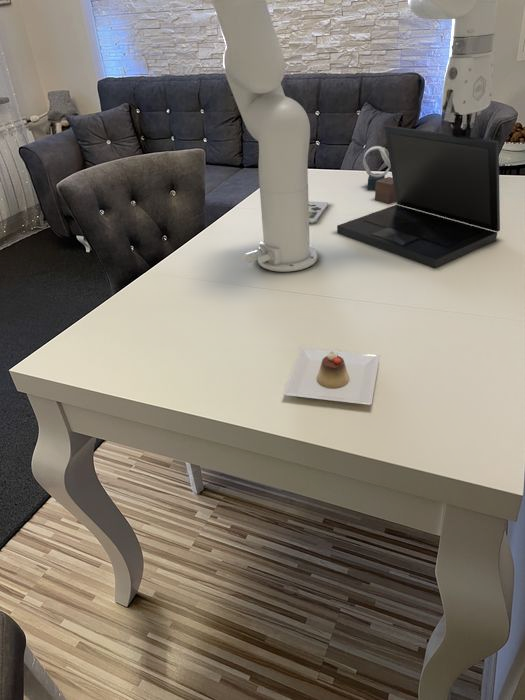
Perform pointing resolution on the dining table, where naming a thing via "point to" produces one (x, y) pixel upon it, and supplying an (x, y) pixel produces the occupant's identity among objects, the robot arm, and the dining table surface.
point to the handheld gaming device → (316, 210)
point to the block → (385, 190)
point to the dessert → (333, 376)
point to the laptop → (417, 235)
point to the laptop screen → (446, 175)
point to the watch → (372, 177)
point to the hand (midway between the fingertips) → (459, 148)
